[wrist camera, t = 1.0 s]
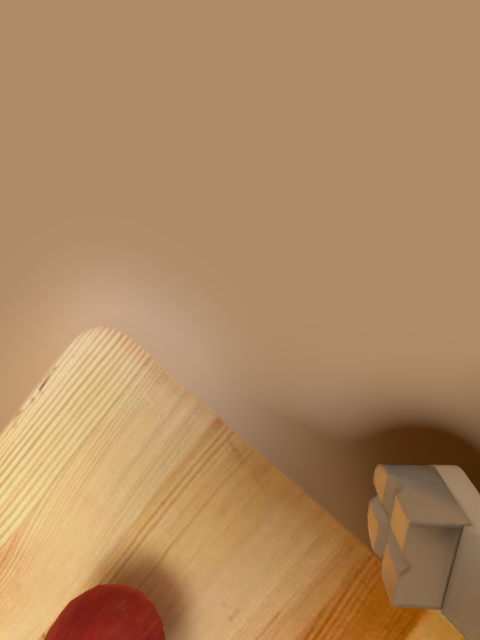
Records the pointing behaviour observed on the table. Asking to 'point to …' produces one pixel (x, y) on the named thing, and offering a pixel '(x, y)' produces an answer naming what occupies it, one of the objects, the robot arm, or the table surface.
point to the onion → (108, 616)
